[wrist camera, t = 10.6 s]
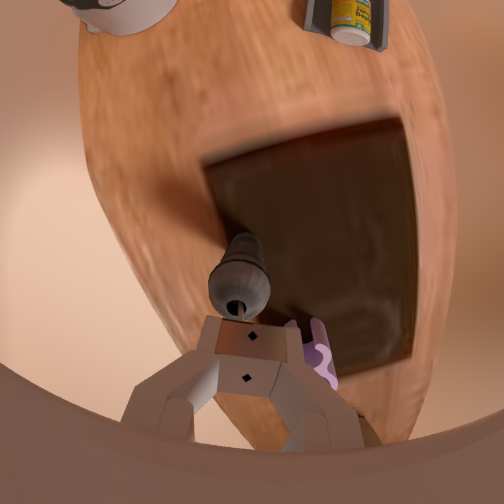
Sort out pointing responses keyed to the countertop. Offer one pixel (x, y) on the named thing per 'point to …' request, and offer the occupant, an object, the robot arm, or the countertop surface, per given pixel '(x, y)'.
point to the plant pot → (368, 434)
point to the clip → (319, 352)
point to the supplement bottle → (351, 21)
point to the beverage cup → (240, 280)
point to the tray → (321, 21)
